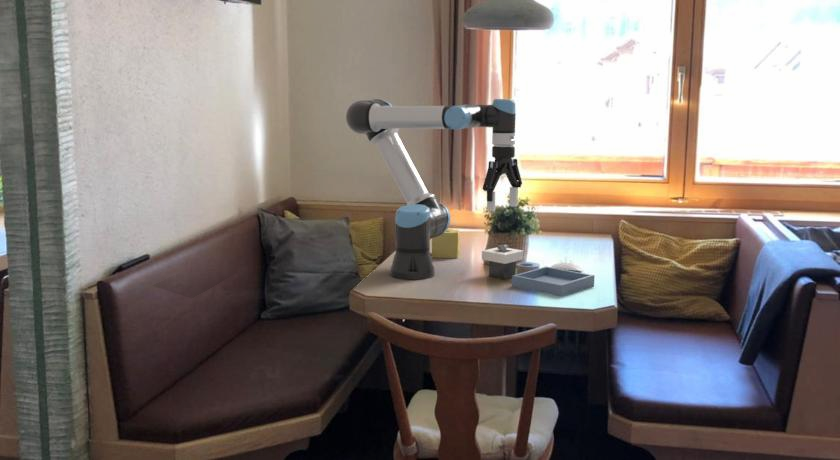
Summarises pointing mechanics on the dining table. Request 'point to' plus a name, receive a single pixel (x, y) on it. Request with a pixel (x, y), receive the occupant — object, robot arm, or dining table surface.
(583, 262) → the dining table surface
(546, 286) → the tray
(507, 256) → the ring
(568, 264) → the pincushion
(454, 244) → the cheese
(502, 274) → the grey block with post
